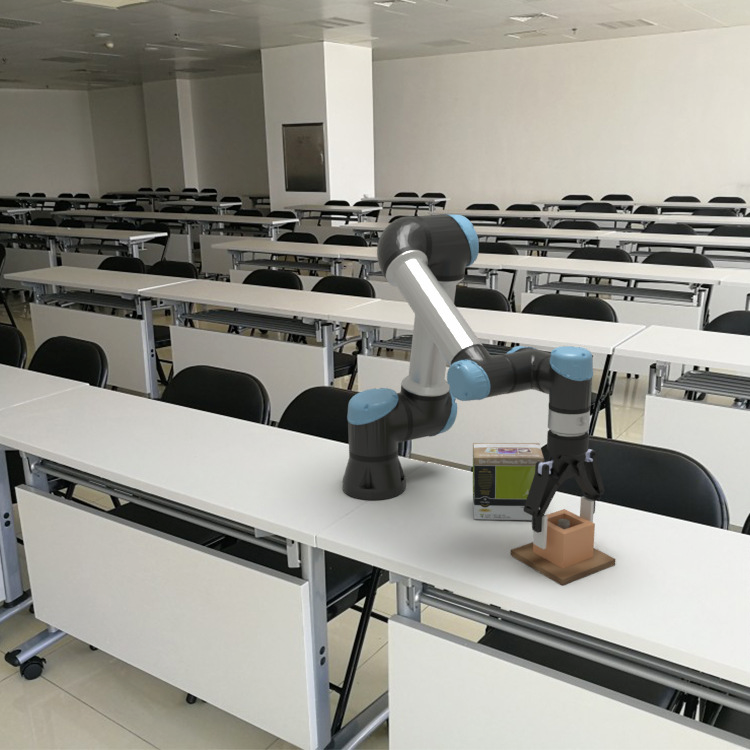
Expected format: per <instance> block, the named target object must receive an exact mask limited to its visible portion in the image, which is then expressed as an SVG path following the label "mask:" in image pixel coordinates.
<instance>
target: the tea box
mask: <svg viewBox="0 0 750 750" xmlns="http://www.w3.org/2000/svg"><path fill="white" fill-rule="evenodd" d="M540 444H541V443H540V442H473V443H472V503H473V518H474V520H487V521H489V520H491V521H492V520H493V521H494V520H495V521H497V520H498V521H499V520H501V521H532V515H530V514H528V513H526V512H524V506H525V503H526V500H527V497H528V494H529V490H530V487H531V484H532V481H533V478H534V475H535V465H536V462H538V461H539V462H542V463H544V462H545V458H544V454H543V451H542V448H541V445H540ZM539 510H540V507H539Z"/></svg>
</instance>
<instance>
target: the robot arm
mask: <svg viewBox="0 0 750 750" xmlns="http://www.w3.org/2000/svg"><path fill="white" fill-rule="evenodd" d="M479 244H480V243H479V237H478V234H477V231H476V229H475V227H474V224H473V223H472V222H471V221H470V220H469V219H468V218H467V217H465V216H463V215H461V214H449V213H443V214H431V215H419V216H418V215H416V216H415V215H413V216H412V215H411V216H409V215H408V216H402V217H399V218H396V219H394V220H393V221H392V222H390V223H389V224H388V225H387V226H386V227H385V228H384V229H383V231H382V233H381V235H380V237H379V239H378V242H377V248H376V257H377V262H378V266H379V269H380V272H381V274H382V275H383V277H384V278H385V279H386V280H385V281H387V282H388V284H389V285H391V286H392V287H396V288H397V289H398V291H399V292H400V294H401V296H402V297H403V298H404V300H405V301H406V303H407V304H408V305H409V308H411V310H412V311H413V312H412V313H414V318H413V319H414V322H413V330H412V331H413V332H412V338H411V339H412V340H411V347H410V348H411V349H410V359H409V368H408V375H407V376H405V377H404V378H403V379H402V380H401V384H400V392H397V391H396V390H395V389H392V388H388V387H380V388H376V387H375V388H369V389H366V390H362V391H359V392H358V393H356V394H355V395H353V396H352V397H351V398H350V400H348V406H347V416H346V418H347V428H348V430H347V431H348V432H347V433H348V460H347V463H346V467H345V471H344V474H343V477H342V490H343V492H344V493H345V494H346V495H347V496H350V497H352V498H355V499H360V500H368V501H369V500H370V501H373V500H374V501H376V500H378V501H379V500H386V499H391V498H394V497H398V496H399V495H401V494H403V493H404V492H405V491H406V489H407V488H406V487H407V485H406V484H407V482H406V480H407V479H406V475H405V472H404V470H403V467H402V464H401V461H400V458H399V443H403V442H407V441H412V440H417V439H421V438H427V437H429V438H430V437H435V436H438V435H440V434H444V433H446V432H448V431H449V430H450V429H451V428H452V427H453V425H454V424H455V421H456V419H457V417H458V416H457V415H458V403H457V402H456V400H459V401H462V402H468V401H469V402H470V401H480V400H484V399H487V398H492V397H497V396H500V395H501V396H502V395H509V394H515V393H519V392H524V391H528V390H529V391H530V390H533V391H534V390H535V391H538V392H540V393H543V394H546V395H548V411H547V412H548V413H547V414H548V415H547V428H548V429H549V430H547V435H546V436H547V438H546V448H547V450H548V453H549V458H548V460H547V461H544V463H542V462H539V461H538V462H536V465H535V475H534V478H533V481H532V484H531V487H530V490H529V494H528V497H527V500H526V503H525V506H524V512H526V513H528V514H530V515H532V520H531V529H532V531H533V541H532V542H533V544H535V545H536V546H538V547H540V548H542V549H545V548H546V542H547V518H548V516H546V515H547V514H546V512H547V509H548V508H549V506H550V504H551V502H552V500H553V499H554V496H555V495H556V492H557V491H558V489H559V487H560V486H563V484H564V482H565V481H568V480H569V479H574V480H575V481H576V483H577V485H578V486H579V488H580V490H581V492H582V493H583V496H581V497H580V506H579V507H580V509H579V516H580V517H582V518H584V519H586V520H588V521H590V522H593V523H594V514H595V512H596V501H597V502H599V501H600V500H601V499H602V496H601V495H604V494H605V488H604V482H603V479H602V476H601V473H600V467H599V463H598V451H596V450H594V449H590V448H589V442H590V440H589V439H590V434H589V432H588V431H589V430H590V418H591V400H592V386H593V377H594V371H593V369H594V368H593V367H594V366H593V354H592V352H591V351H590V349H589V350H588V349H587V348H584V347H580V346H579V347H578V346H577V347H576V346H571V345H570V346H568V345H567V346H566V345H565V346H564V345H563V346H559V347H555V348H553V349H552V350H551V352H548V351H544V350H541V349H538V348H536V347H532V346H523V345H518V346H514V347H512V348H511V349H510V350H509V351H507V352H506V353H504V354H502V353H501V354H496V355H491V354H490V353H489V351H488V350H487V348H486V347H485V346H484V345H483V344H482V342H481V341H480V339H479V338H478V336H477V335H476V334H475V333H476V332H474V331H473V329H472V328H471V326H470V325H469V323H468V322H467V320H466V319H465V318H464V316H463V315H462V314H461V312H460V310H459V309H458V308H457V306H456V305H455V297H456V290H457V285H458V284H459V283H460V282H462V281H463V280H464V279H465V273H466V268H467V267H470V266H472V265H473V264H474V263H475V262H476V261H477V259H478V256H479V253H480V252H479V250H480V249H479V247H480V245H479ZM447 365H448V366H449V367H448V370H447ZM446 371H447V373H446ZM445 378H446V379H445ZM539 507H540V510H539Z"/></svg>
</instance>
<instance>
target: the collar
mask: <svg viewBox="0 0 750 750" xmlns="http://www.w3.org/2000/svg"><path fill="white" fill-rule="evenodd" d="M545 515H546V516H548V518H547V542H546V548H545V549H542V548H540V547H538V546H536V545H535V544H533V552H534V553H536V554H538V555H540V556H541V557H543V558H545V559H547V560H548V561H550V562H552V563H554V564H556V565H557V566H559V567H561V568H565V567H568V566H571V565H573V564H576V563H579V562H581V561H584V560H587V559H589V558H592V557H593V548H595V547H594V546H595V527H596V523H594V521H593V522H590V521H588V520H586V519H584V518H582V517H580V515H578V514H576V513H574V512H571V511H569V510H568V509H566V508H565V509H564V508H563V509H560V510H558V511H554V512H551V513H548V514H545ZM559 519H568V520H569V521H570V528H567V529H562V528H560V527H558V520H559Z"/></svg>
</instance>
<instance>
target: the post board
mask: <svg viewBox="0 0 750 750" xmlns="http://www.w3.org/2000/svg"><path fill="white" fill-rule="evenodd" d="M558 527H560V528H562V529H567V528H570V521H569V520H568V519H559V520H558ZM510 557H512V558H514V559H515V560H518V561H519V562H521V563H523V564H524V565H526V566H528V567H529V568H531V569H533V570H535V571H537V572H538V573H540V574H541V575H543V576H545V577H547V578H548V579H550V580H552V581H553V582H555V583H557V584H559V585H561V586H565V585H567V584H569V583H573V582H575V581H577V580H580V579H582V578H583V579H584V577H587V576H591V575H592V574H595V573H598V572H600V571H603V570H606V569H608V568H610V567H612V566H616V558H614V557H613V556H611V555H609V554H606V553H604V552H602V551H601V550H599V549H596V548H595V547H594V548H593V557H592V558H589V559H587V560H584V561H581V562H579V563H576V564H573V565H571V566H568V567H565V568H561V567H559V566H557V565H556V564H554V563H552V562H550V561H548V560H547V559H545V558H543V557H541V556H540V555H538V554H536V553H534V552H533V541H532V542H530V543H527V544H524V545H521V546H518V547H514V548H511V549H510Z"/></svg>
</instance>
